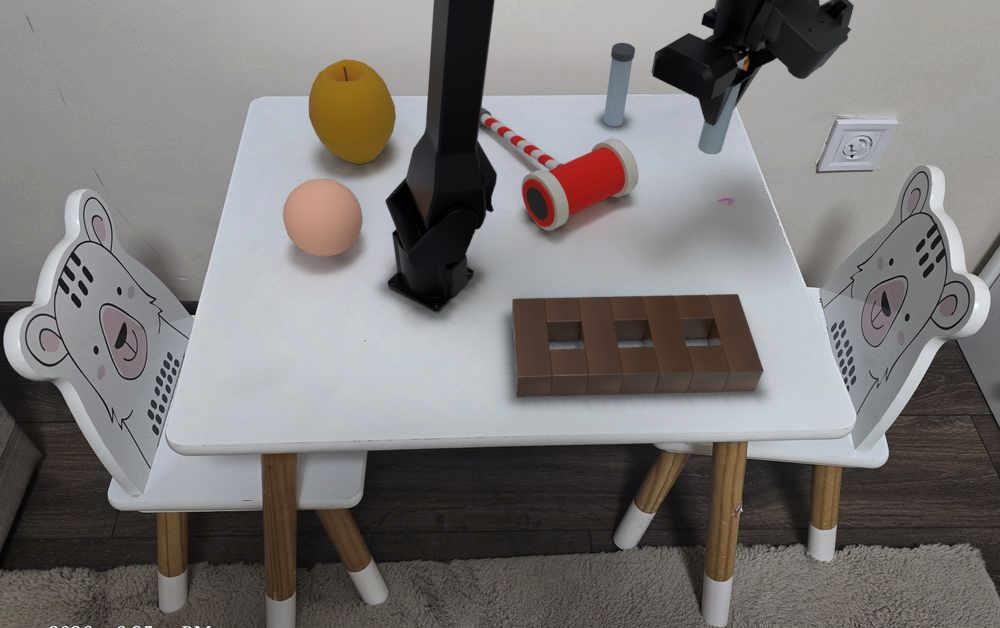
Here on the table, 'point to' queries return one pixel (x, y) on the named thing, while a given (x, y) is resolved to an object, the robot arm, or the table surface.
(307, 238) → the toy ball
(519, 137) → the toy hammer
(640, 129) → the table surface
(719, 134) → the orange-capped peg
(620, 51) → the tube grey
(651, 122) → the table surface
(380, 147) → the apple
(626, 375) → the rack
